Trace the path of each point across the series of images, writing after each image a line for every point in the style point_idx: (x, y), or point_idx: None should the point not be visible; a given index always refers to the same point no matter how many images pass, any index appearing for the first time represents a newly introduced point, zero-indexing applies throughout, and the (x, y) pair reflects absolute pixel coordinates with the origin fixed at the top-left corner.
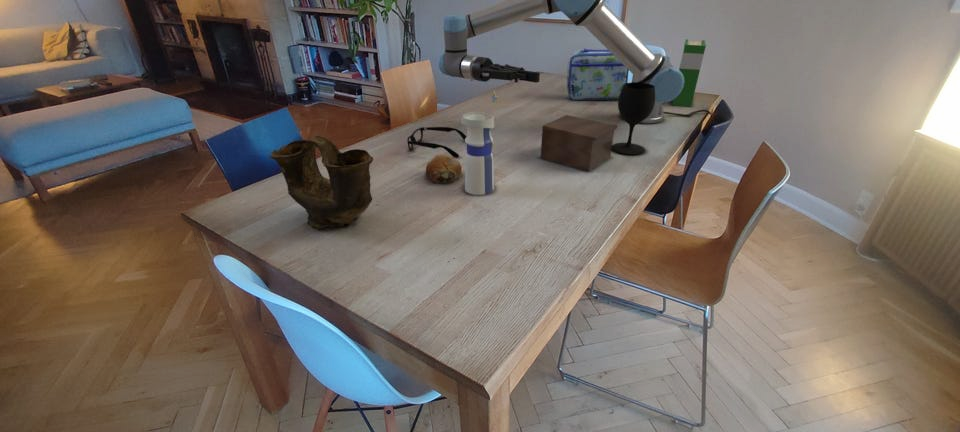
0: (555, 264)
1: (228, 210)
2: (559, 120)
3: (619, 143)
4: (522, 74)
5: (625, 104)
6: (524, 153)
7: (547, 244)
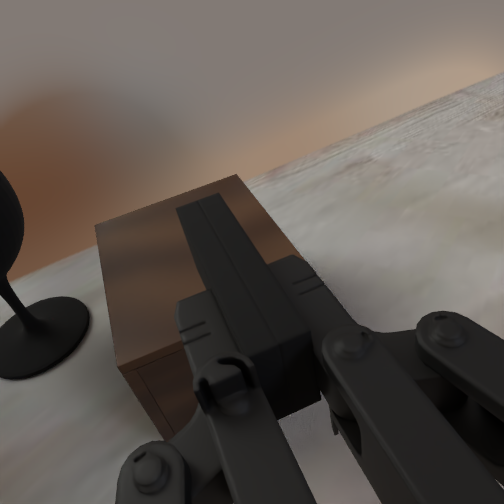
0: (486, 94)
1: None
2: None
3: (14, 368)
4: (314, 276)
5: (8, 199)
6: None
7: (483, 115)
